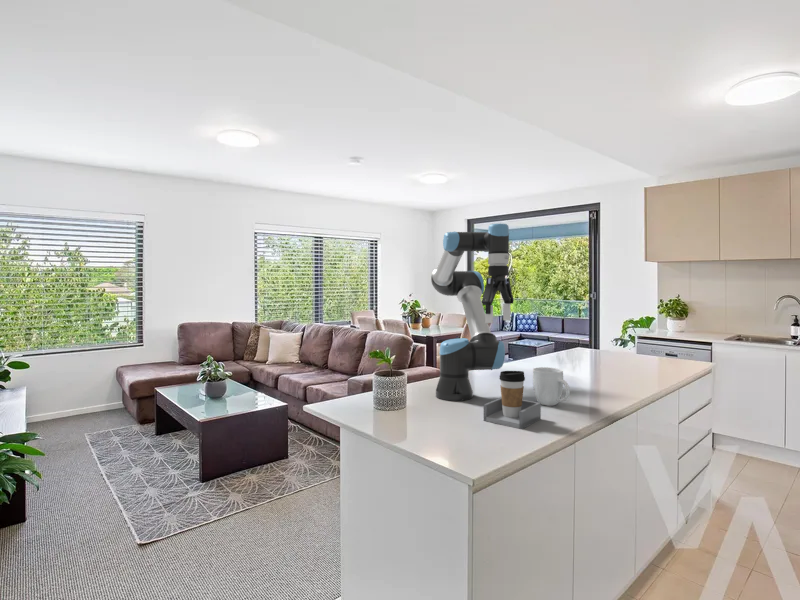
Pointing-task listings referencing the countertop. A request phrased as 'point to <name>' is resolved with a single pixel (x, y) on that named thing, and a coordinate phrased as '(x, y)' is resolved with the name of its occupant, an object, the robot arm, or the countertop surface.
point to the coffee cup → (512, 392)
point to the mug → (549, 385)
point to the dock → (526, 417)
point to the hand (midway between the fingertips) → (498, 321)
